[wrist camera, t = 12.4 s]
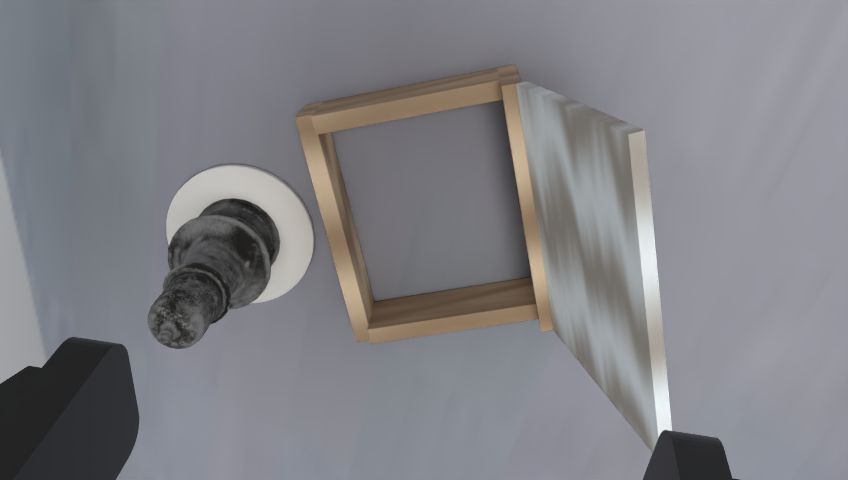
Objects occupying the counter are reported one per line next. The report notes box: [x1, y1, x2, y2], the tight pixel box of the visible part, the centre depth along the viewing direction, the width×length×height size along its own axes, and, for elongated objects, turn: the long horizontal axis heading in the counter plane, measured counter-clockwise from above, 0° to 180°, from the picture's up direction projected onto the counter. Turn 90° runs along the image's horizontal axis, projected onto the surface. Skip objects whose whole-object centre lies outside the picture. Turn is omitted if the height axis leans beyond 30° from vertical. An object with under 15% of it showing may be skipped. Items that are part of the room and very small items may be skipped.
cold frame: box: [295, 65, 672, 453], centre depth 36 cm, size 14×15×17 cm
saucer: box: [166, 164, 315, 303], centre depth 45 cm, size 9×9×1 cm
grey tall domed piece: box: [148, 198, 280, 349], centre depth 39 cm, size 6×6×12 cm
